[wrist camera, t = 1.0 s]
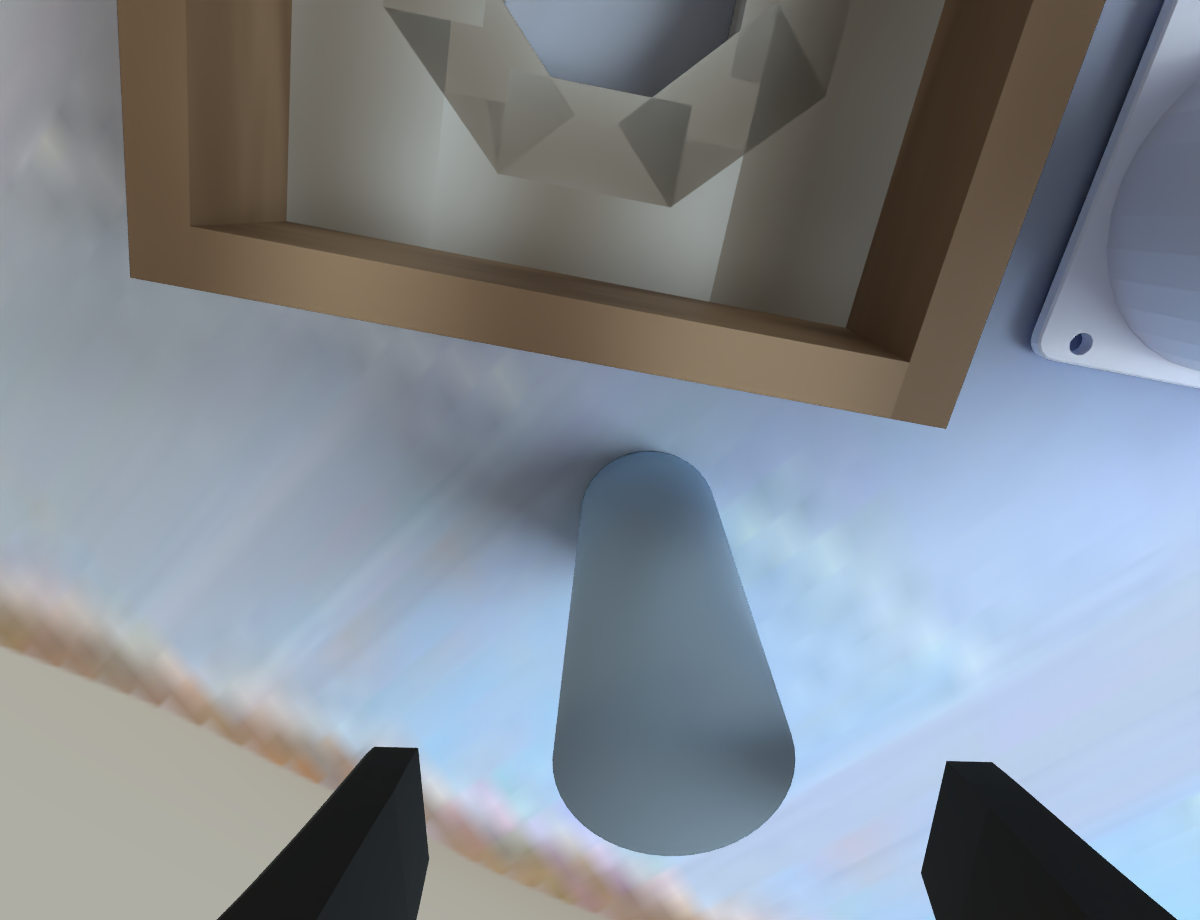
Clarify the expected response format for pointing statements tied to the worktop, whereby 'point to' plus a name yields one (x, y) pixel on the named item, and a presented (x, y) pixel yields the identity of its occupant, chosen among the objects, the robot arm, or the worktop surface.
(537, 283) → the box
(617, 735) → the peg
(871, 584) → the worktop surface
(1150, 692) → the worktop surface
